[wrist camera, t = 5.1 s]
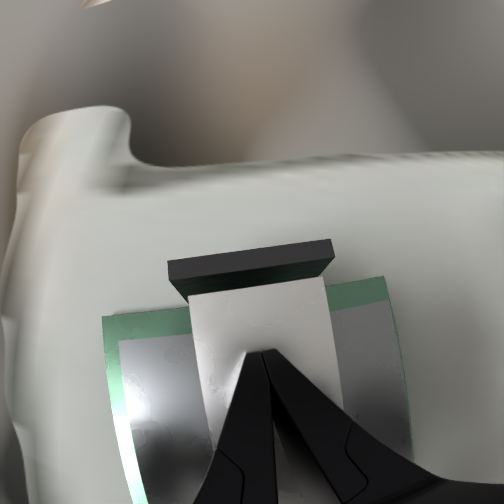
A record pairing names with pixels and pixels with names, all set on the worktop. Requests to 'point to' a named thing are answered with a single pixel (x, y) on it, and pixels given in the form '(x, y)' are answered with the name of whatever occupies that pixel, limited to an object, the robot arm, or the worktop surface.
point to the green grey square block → (188, 380)
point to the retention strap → (259, 338)
